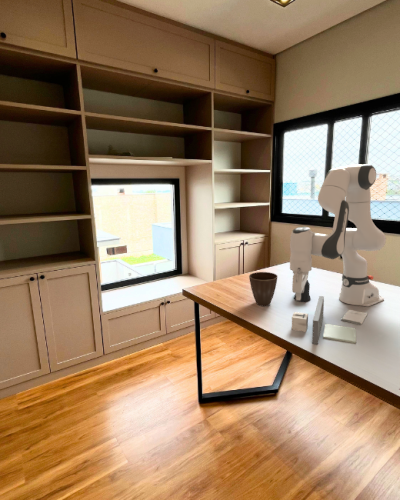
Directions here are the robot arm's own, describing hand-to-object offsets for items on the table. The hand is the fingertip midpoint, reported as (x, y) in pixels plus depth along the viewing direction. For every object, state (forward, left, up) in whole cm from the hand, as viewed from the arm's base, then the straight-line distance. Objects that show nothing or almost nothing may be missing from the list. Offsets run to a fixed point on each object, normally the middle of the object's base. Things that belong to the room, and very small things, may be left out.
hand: (300, 296), depth 126 cm
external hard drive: (-29, +2, -16) cm, 33 cm away
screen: (-7, +4, -15) cm, 17 cm away
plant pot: (0, -31, -15) cm, 35 cm away
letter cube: (0, 0, -15) cm, 15 cm away
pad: (-11, +11, -15) cm, 22 cm away
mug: (-23, -29, -15) cm, 40 cm away
